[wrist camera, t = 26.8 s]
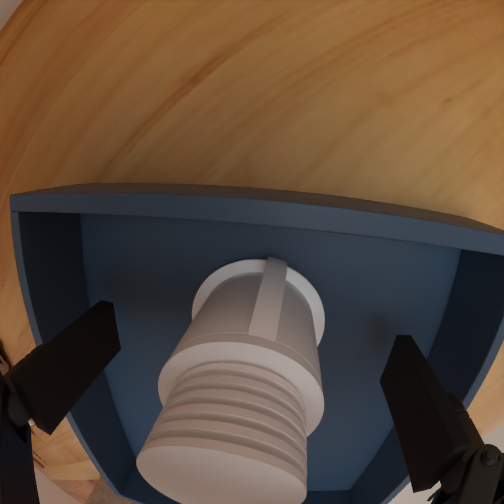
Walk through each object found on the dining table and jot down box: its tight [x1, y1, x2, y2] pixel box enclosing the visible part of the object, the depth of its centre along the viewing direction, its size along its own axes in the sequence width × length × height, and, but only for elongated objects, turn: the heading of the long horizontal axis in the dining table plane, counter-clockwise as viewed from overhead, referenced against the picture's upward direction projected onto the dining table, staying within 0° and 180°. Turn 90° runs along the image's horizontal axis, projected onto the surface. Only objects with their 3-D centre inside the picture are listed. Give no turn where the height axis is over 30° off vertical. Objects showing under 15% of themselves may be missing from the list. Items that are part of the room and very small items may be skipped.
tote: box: [10, 183, 504, 504], centre depth 15 cm, size 28×24×6 cm
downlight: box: [136, 256, 325, 504], centre depth 10 cm, size 8×7×10 cm
